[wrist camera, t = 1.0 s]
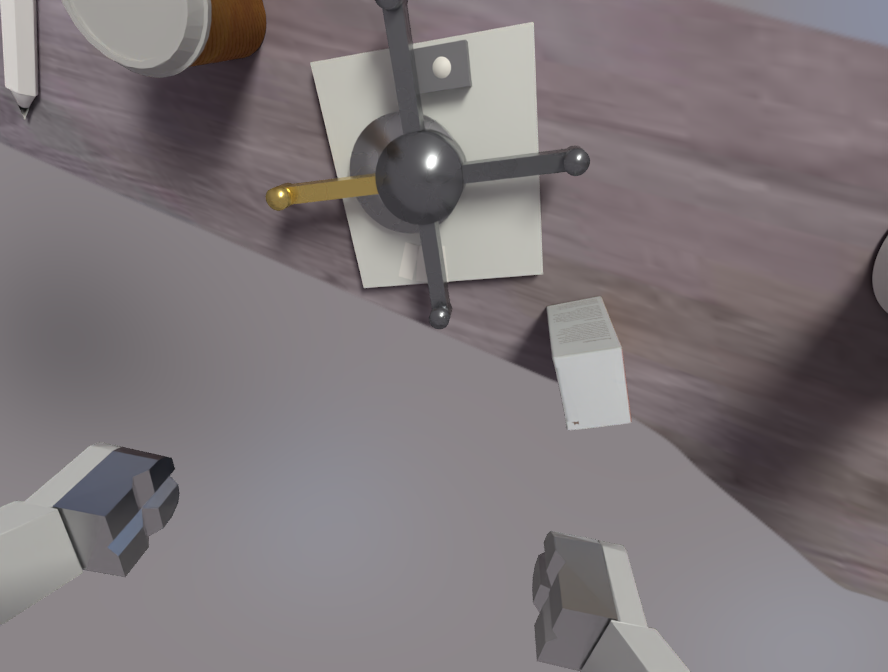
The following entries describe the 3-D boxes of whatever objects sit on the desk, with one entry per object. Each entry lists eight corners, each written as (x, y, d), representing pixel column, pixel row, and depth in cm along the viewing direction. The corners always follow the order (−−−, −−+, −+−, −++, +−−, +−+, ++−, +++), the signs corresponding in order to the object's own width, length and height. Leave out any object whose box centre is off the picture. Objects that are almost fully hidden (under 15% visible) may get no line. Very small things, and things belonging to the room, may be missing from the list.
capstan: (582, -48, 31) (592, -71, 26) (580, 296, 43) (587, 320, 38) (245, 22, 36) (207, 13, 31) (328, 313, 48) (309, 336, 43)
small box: (611, 361, 48) (633, 425, 39) (557, 369, 49) (567, 433, 40) (602, 293, 44) (624, 346, 35) (545, 304, 46) (552, 358, 37)
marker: (39, 118, 45) (30, -78, 37) (47, 127, 44) (41, -70, 36) (3, 113, 43) (-14, -95, 35) (11, 123, 42) (-4, -88, 34)
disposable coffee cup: (206, 90, 40) (98, 91, 30) (154, -42, 36) (8, -94, 26) (301, 66, 38) (221, 58, 28) (259, -78, 34) (146, -150, 24)
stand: (533, 24, 35) (534, 18, 31) (542, 268, 44) (544, 282, 41) (317, 63, 38) (299, 61, 35) (368, 282, 47) (357, 296, 44)
